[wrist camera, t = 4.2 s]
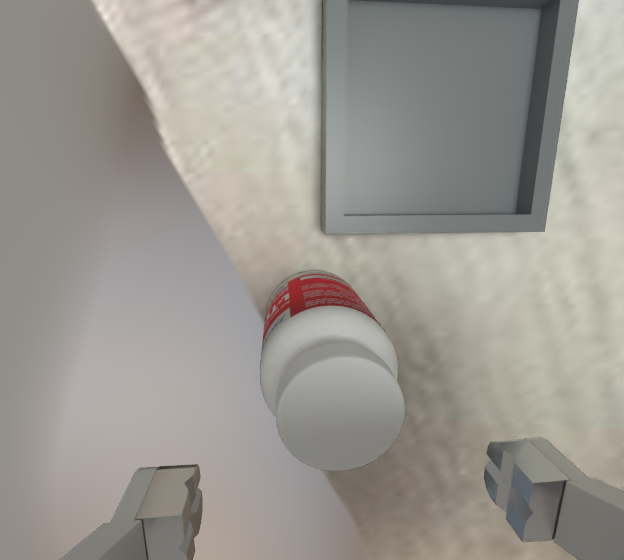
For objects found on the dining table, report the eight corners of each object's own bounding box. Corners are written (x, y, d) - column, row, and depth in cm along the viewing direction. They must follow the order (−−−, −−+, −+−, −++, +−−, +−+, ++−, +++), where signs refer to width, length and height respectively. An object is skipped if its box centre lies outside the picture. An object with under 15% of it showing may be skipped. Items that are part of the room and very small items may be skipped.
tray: (520, 228, 23) (544, 231, 21) (321, 230, 22) (325, 234, 20) (551, -4, 20) (582, -27, 18) (321, -15, 19) (327, -41, 17)
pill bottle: (272, 262, 22) (267, 324, 12) (367, 275, 23) (444, 345, 12) (259, 353, 24) (244, 485, 13) (349, 363, 24) (405, 495, 14)
